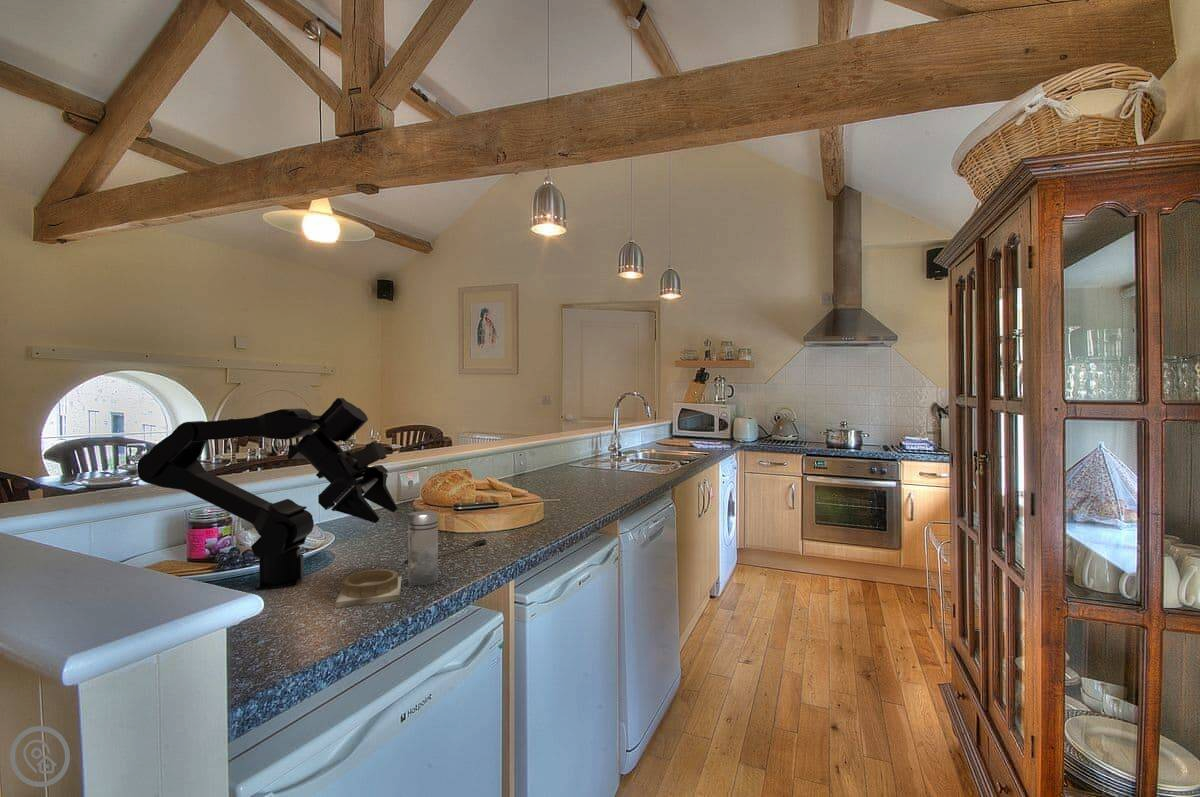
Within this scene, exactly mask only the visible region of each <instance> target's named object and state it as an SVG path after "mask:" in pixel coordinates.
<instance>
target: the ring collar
mask: <svg viewBox="0 0 1200 797" xmlns="http://www.w3.org/2000/svg"><path fill="white" fill-rule="evenodd" d="M402 581H403V580H402V575H401V576H400V575H399V573H398V572H397V571H396V570H394V569H389V568H387V569H385V568H375V569H366V570H361V571H358V572H357V571H356V572H353V573H351V574H349V575H348V576H345V577H344V578H343V580H342V582H341V583H342V585H341V586H342V587H341V589H340V592H339V594H338V596H337V598H336V601H335V608H336V609H339V608H348V607H355V606H356V607H357V606H362V605H363V606H365V605H372V604H381V603H387V602H388V603H390V601H391V602H397V601H398V600H399V601H400V599H401V590H402V589H401V588H402Z"/></svg>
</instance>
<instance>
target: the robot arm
mask: <svg viewBox="0 0 1200 797" xmlns="http://www.w3.org/2000/svg"><path fill="white" fill-rule="evenodd" d="M368 420H369V418H368V416H367V414H366V413H365V412H364V410H362V409H361V408H360V407H358V406H356V405H355V404H354V403H353V404H352V403H351V402H349V401H347V400H346V399H345V398H344V397H337V398H336V399H335V400H334V401H333V402H332V404H331V405H330V406H329V407H328V408H327V410H326V411H324V412H323V413H322V414H321V415H316V414H312V413H311V412H310V411H309V410H308V409H305V408H301V407H300V408H282V409H281V408H280V409H277V410H274V411H273V410H272V411H269V412H266V413H263V414H260V415H258V416H257V415H256V416H254V417H247V418H246V417H243V418H233V419H231V418H230V419H222V420H209V421H204V420H196V421H185V422H182V423H180V424H179V425H178V426H177V427H176V428H175V429H174V431H173V432H172V433H170V435H168V436H167V437H165V438H164V439H162V440H160V442H158V443H156V444H155V445H154V446H153V447H152V448H151V449H150V450H149V451H148V453H145V454H143V455H142V456H141V457H140V458H139V460H138V463H137V468H136V469H137V470H136V471H137V478H139V479H140V480H141V481H142V482H143V483H146V484H148V485H149V484H150V485H153V486H156V487H160V488H165V489H173V490H181V491H185V492H187V493H189V494H191V495H193V496H195V497H197V498H199V499H201V500H203V501H205V502H207V503H209V504H211V505H213V506H215V507H217V508H219V509H222V510H223V511H226V512H227V513H229V514H231V515H234V516H236V517H237V518H239V519H241V520H244V521H245V522H248V523H250V524H251V525H252V526H253V528H254V529H255V531H256V533H258V535H259V538H257V540H256V541H255V542H254V543H253V544H251V546H250V548H251V551H252V553H253V557H255V558H259V566H258V568H259V569H258V570H259V574H258V575H259V577H258V578H259V583H258V584H257V585H256V590H264V589H274V588H282V587H283V588H284V587H292V586H296V585H297V584H298V583H299V581H300V580H301V579H302V578H303V576H304V574H305V573H304V572H305V571H304V569H305V568H304V566H305V564H304V562H305V560H304V559H305V558H304V554H303V553H302V554H301V545H302V546H303V545H304V544H305V543H306V540H307V537H308V536H309V535H310V534H311V533H312V532H313V529H314V524H315V523H314V519H313V515H312V513H311V512H309V511H308V510H306V509H308V507H307V506H303V505H299V504H298V503H296V502H295V501H293V500H292V499H289V498H284V499H283V500H282V499H281V500H280V501H277V502H273V503H272V502H271V501H270V502H269V501H268V500H267V499H266V500H265V499H264V498H261V497H259V496H257V495H255V494H253V493H252V492H250V491H247V490H245V489H243V488H242V487H240V486H237V485H235V484H233V483H231V482H229V481H227V480H225V479H223V478H221V477H219V476H217V475H215V474H213V473H211V472H210V471H208V470H206V469H205V468H204V466H203V464H202V462H201V461H200V459H199V458H200V457H201V456H202V454H203V451H204V449H205V446H206V444H207V442H208V441H213V440H225V439H237V438H249V437H260V438H264V439H273V440H284V441H285V440H286V441H287V440H291V439H292V440H293V439H299V438H301V439H300V440H299V441H298V442H297V443H294V444H288V453H287V460H294V459H298V458H299V459H300V458H301V457H303V459H305V460H306V461H307V462H308V464H310V465H311V466H312V467H313V469H315V470H316V471H317V473H316V474H315V476H316V477H318V479H323V478H325V480H326V481H327V482H329V483H330V484H329V485H327V486H326V487H325V488H324V489H323V490H322V491H321V492H320V493H319V494H318V499H317V500H318V501H317V502H318V504H319V505H320V506H321V507H322V508H323V510H325V511H328V510H329V509H330V510H331V511H332V512H337V513H338V512H339V513H342V514H345V515H350V516H352V517H355V518H358V519H361V520H365V521H366V522H370V523H373V524H377V523H378V522H380V517H379V515H378V513H377V511H375V510H374V508H373V507H372V506H371V505H370V504H369V502H372V503H374V504H375V505H376V506H377V505H378V506H379V507H381V508H383V509H386V510H387V511H390V512H392V513H395V512H396V511H397V510H398V509H399V508H398V505H397V504H396V503H395V500H394V498H393V497H392V495H391V492H390V491H389V489H388V487H387V478H388V476H389V475H388V472H389V470H388V469H387V468H385V466H384V465H382V464H375V465H372V464H373V463H377V462H378V461H380V460H384V459H386V458H387V457H388V456H387V453H386V452H385V451H386V450H387V447H386V446H384V445H383V444H382V443H381V442H377V441H376V440H374V441H371V442H370V443H367V444H365V447H363V448H361V449H360V450H357V451H355V452H353V451H352V450H347V451H346V450H344V449H342V448H341V446H339V445H338V444H337V443H339V442H348V441H349V440H350V439H351V438H352V437H353V435H355V434H356V433H357V432H358V431H359V430H360V429H361V428H362V427H363V426H364V425H365V424H366V423H367V422H368ZM314 430H315V431H314ZM313 431H314V432H313ZM312 432H313V433H312ZM311 433H312V434H311ZM336 442H337V443H336ZM369 465H372V466H369ZM368 501H369V502H368Z"/></svg>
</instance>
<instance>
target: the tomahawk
mask: <svg viewBox="0 0 1200 797" xmlns="http://www.w3.org/2000/svg"><path fill="white" fill-rule="evenodd" d="M486 542H487V540H486V539H479V540H475V541H474V542H473V543H472V544H470V545H467V546H466V545H462V546H460V547H457V548H456V547H455V548H454V549H453V548H452V549H450V550H446V551H442V552H438V558H440V557H439V556H442V557H444V556H443V555H446V556H448V555H447V554H449V555H452V554H451V553H453V554H456V553H455V552H457V553H460V552H463V551H464V552H465V551H467V550H470V549H474V548H478V547H479V546H480V545H483V544H485V543H486ZM459 551H460V552H459ZM404 563H409V558H408V559H405V560H404V562H403V564H404Z"/></svg>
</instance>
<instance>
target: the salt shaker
mask: <svg viewBox="0 0 1200 797" xmlns="http://www.w3.org/2000/svg"><path fill="white" fill-rule="evenodd" d="M407 515H408V518H407V519H408V522H407V524H408V526H407V528H408V532H407V533H408V536H407V538H408V544H407V545H408V559H409V565H408V584H409V585H410V584H411V585H410V586H413V585H418V586H417V587H421V586H420V585H425V586H429V585H428V584H430V585H432V584H431V583H433V584H435V583H437V582H438V581H439V557H438V553H439V512H438V511H436V510H418V511H413V512H410V513H408V514H407ZM437 580H438V581H437ZM436 581H437V582H436Z"/></svg>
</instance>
